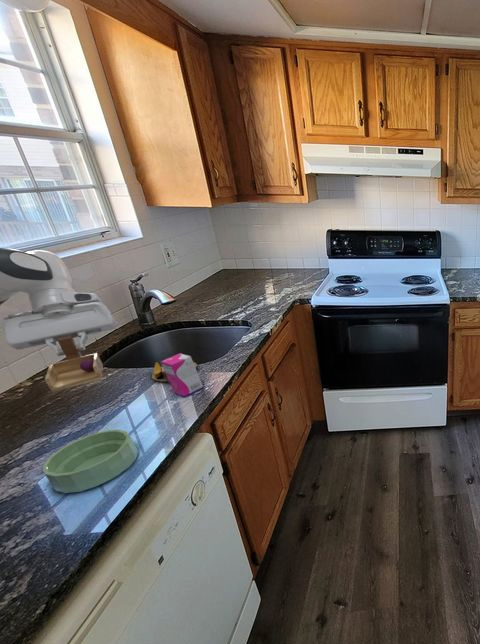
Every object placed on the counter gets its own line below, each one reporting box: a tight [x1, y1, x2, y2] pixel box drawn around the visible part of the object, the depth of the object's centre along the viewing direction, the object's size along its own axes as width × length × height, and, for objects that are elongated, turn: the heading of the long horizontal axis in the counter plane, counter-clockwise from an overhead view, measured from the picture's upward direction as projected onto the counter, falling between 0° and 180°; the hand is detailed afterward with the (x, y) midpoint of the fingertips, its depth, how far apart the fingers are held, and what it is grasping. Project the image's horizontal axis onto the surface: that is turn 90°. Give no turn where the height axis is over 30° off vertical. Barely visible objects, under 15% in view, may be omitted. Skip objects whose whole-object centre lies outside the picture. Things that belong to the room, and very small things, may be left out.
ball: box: [80, 360, 94, 371], centre depth 93 cm, size 3×3×3 cm
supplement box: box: [160, 353, 204, 398], centre depth 110 cm, size 6×6×12 cm
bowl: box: [42, 429, 139, 494], centre depth 82 cm, size 14×14×6 cm
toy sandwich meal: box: [151, 361, 198, 383], centre depth 121 cm, size 12×14×5 cm
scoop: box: [44, 335, 104, 393], centre depth 91 cm, size 12×9×9 cm
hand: (71, 352), depth 94 cm, fingers closed on scoop, 2 cm apart
